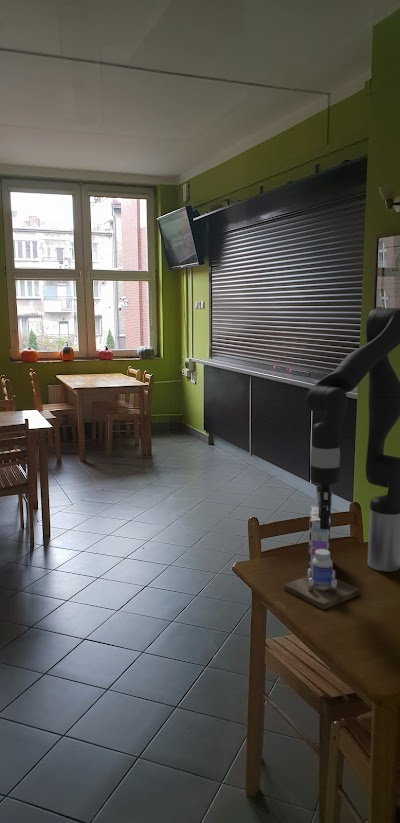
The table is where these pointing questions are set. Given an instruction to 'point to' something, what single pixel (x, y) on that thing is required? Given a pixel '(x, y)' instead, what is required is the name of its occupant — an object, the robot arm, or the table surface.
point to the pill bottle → (322, 569)
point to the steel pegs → (311, 582)
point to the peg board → (321, 593)
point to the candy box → (317, 535)
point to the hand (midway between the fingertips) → (323, 523)
